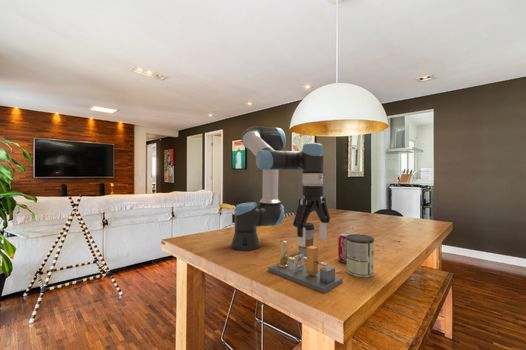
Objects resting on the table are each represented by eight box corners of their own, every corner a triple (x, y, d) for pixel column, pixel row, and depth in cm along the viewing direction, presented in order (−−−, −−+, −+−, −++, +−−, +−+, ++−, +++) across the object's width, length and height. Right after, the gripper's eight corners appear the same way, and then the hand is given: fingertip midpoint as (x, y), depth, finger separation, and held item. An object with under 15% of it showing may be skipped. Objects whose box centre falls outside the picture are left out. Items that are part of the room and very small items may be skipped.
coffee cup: (314, 258, 117) (314, 226, 117) (296, 256, 119) (296, 225, 119) (314, 252, 125) (314, 222, 125) (297, 251, 127) (297, 221, 127)
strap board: (268, 270, 101) (268, 267, 101) (287, 263, 109) (287, 260, 109) (324, 293, 82) (324, 288, 82) (342, 282, 91) (342, 278, 91)
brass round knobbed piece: (275, 265, 103) (275, 241, 103) (283, 262, 107) (283, 239, 107) (290, 271, 97) (291, 245, 97) (298, 267, 101) (299, 243, 101)
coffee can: (345, 266, 107) (345, 233, 107) (370, 268, 104) (371, 234, 104) (347, 276, 97) (347, 239, 97) (376, 278, 94) (376, 241, 94)
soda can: (357, 263, 110) (357, 236, 110) (342, 264, 109) (342, 236, 109) (349, 258, 117) (349, 232, 117) (335, 258, 116) (335, 233, 116)
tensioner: (319, 281, 88) (319, 268, 88) (327, 277, 91) (327, 265, 91) (327, 284, 86) (327, 271, 86) (334, 280, 89) (335, 267, 89)
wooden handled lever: (293, 270, 96) (294, 245, 96) (302, 266, 100) (302, 242, 99) (323, 281, 86) (323, 253, 86) (331, 276, 90) (331, 249, 90)
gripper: (300, 186, 81) (300, 251, 81) (339, 184, 99) (339, 238, 99) (282, 185, 87) (282, 246, 87) (322, 184, 104) (322, 235, 104)
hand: (312, 242), depth 93 cm, fingers open, 13 cm apart
